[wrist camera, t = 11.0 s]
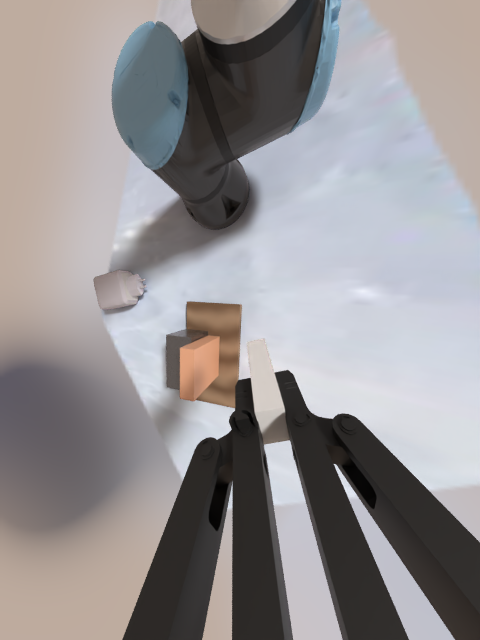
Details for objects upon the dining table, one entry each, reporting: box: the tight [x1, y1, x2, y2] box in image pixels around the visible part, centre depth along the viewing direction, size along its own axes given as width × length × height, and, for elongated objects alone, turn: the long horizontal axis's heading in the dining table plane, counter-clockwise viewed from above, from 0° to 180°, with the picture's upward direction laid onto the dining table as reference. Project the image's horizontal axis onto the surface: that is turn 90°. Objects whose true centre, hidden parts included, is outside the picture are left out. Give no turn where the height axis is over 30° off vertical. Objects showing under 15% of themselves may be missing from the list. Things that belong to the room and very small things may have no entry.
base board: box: [187, 302, 242, 408], centre depth 46 cm, size 26×14×2 cm, turn 178°
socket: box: [166, 329, 208, 390], centre depth 43 cm, size 12×6×8 cm, turn 177°
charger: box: [94, 270, 147, 310], centre depth 50 cm, size 5×9×15 cm
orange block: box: [180, 335, 220, 401], centre depth 40 cm, size 10×9×12 cm
